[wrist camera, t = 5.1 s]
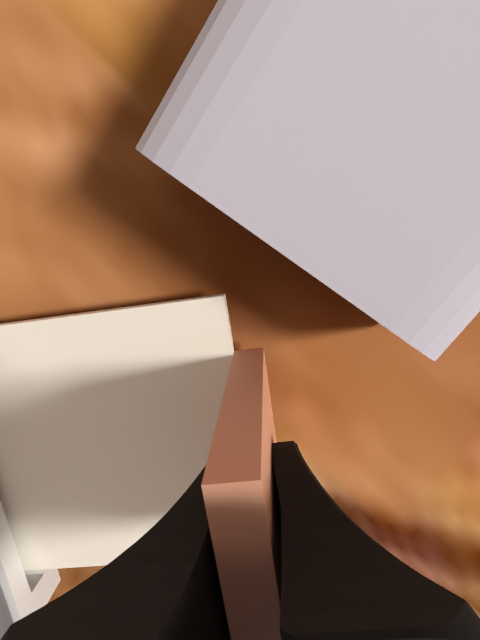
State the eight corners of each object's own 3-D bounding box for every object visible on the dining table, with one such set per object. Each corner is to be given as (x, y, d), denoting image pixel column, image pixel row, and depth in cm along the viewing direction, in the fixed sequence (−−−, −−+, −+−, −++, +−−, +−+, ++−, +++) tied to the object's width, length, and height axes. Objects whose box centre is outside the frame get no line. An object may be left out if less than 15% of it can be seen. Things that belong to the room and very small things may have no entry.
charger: (754, -118, 10) (387, 324, 14) (489, -362, 10) (172, 171, 13) (1137, -386, 6) (446, 374, 9) (690, -890, 5) (121, 143, 9)
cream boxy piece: (255, 289, 13) (243, 365, 6) (290, 544, 15) (311, 809, 8) (-79, 334, 14) (-410, 440, 7) (1, 564, 16) (-191, 811, 9)
